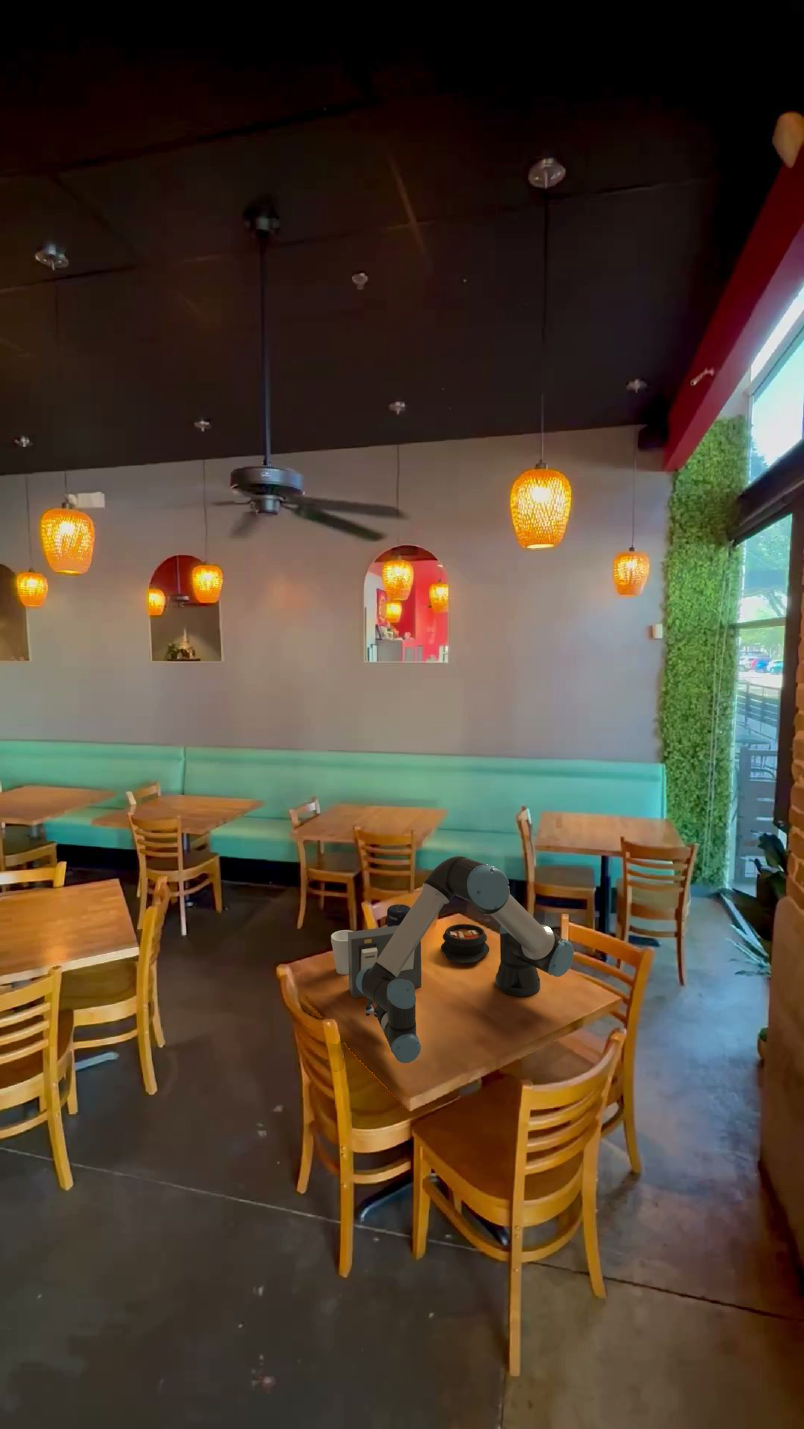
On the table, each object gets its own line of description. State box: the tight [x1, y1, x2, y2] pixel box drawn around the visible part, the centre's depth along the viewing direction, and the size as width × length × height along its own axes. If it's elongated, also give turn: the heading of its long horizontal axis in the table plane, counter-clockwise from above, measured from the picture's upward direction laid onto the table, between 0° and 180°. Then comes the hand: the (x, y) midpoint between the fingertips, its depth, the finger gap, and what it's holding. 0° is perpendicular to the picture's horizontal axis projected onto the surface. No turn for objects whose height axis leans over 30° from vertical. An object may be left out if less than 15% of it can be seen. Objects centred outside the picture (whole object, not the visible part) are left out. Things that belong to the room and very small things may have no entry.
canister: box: [386, 903, 411, 927], centre depth 246 cm, size 10×10×18 cm
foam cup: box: [330, 929, 354, 975], centre depth 230 cm, size 10×9×13 cm
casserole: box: [440, 923, 491, 964], centre depth 244 cm, size 25×19×8 cm
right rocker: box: [401, 950, 415, 971], centre depth 215 cm, size 2×5×10 cm, turn 106°
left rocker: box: [360, 948, 378, 971], centre depth 211 cm, size 2×5×10 cm, turn 107°
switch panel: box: [348, 926, 422, 999], centre depth 221 cm, size 16×24×20 cm, turn 106°
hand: (373, 981), depth 204 cm, fingers closed
